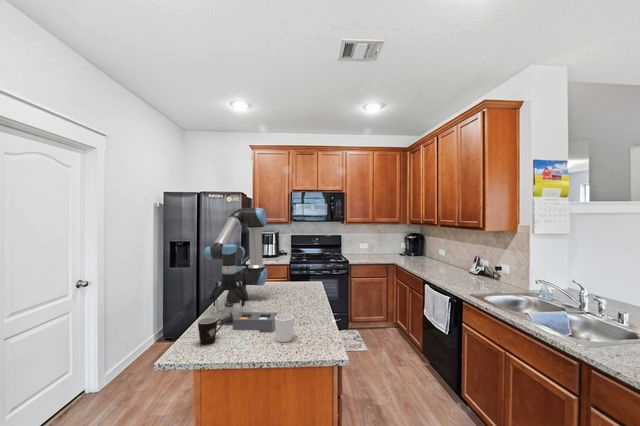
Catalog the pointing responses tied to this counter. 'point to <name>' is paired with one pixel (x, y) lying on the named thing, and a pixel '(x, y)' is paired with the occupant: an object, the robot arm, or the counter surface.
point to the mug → (284, 327)
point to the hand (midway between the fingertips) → (228, 312)
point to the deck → (224, 323)
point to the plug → (229, 312)
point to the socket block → (255, 321)
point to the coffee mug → (208, 330)
